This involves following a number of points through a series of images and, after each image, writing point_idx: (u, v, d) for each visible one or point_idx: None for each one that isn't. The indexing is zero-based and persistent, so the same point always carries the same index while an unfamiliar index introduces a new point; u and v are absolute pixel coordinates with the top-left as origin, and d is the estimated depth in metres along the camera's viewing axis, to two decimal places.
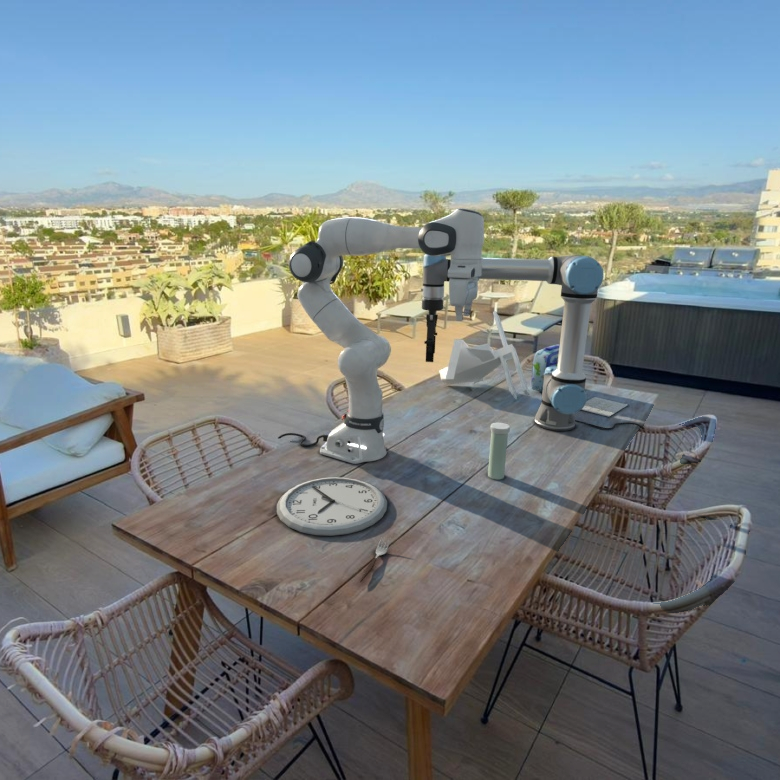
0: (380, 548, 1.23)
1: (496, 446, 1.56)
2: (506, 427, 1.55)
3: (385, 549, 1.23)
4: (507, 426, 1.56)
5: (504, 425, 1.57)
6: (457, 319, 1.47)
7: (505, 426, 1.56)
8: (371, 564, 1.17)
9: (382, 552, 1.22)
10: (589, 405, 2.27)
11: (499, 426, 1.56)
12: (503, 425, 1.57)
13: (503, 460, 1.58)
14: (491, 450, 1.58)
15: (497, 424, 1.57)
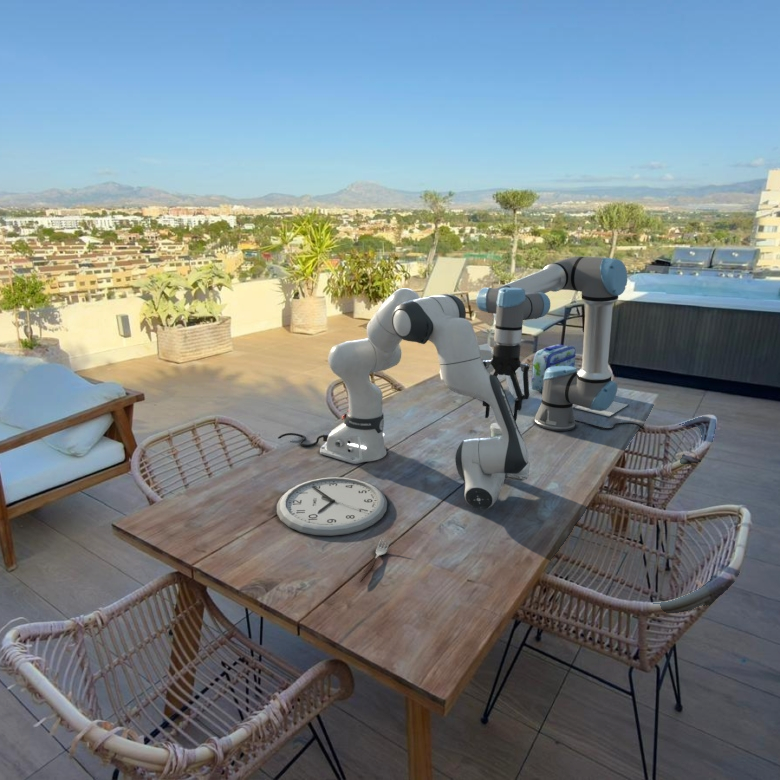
0: (380, 548, 1.23)
1: None
2: None
3: (385, 549, 1.23)
4: None
5: None
6: None
7: None
8: (371, 564, 1.17)
9: (382, 552, 1.22)
10: None
11: None
12: None
13: None
14: None
15: (497, 424, 1.57)
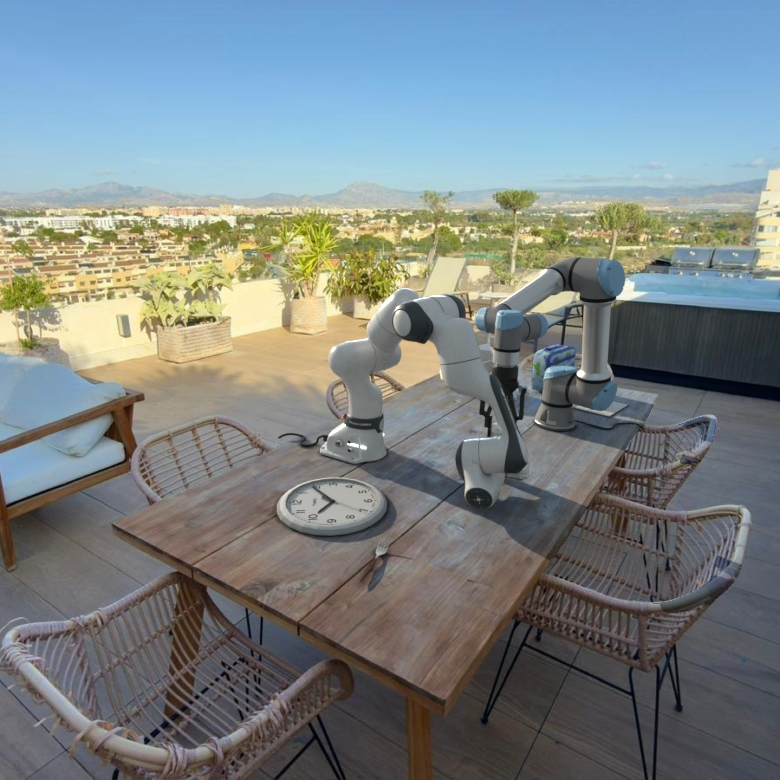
0: (380, 548, 1.23)
1: None
2: None
3: (385, 549, 1.23)
4: None
5: None
6: None
7: None
8: (371, 564, 1.17)
9: (382, 552, 1.22)
10: None
11: None
12: None
13: None
14: None
15: (497, 424, 1.57)
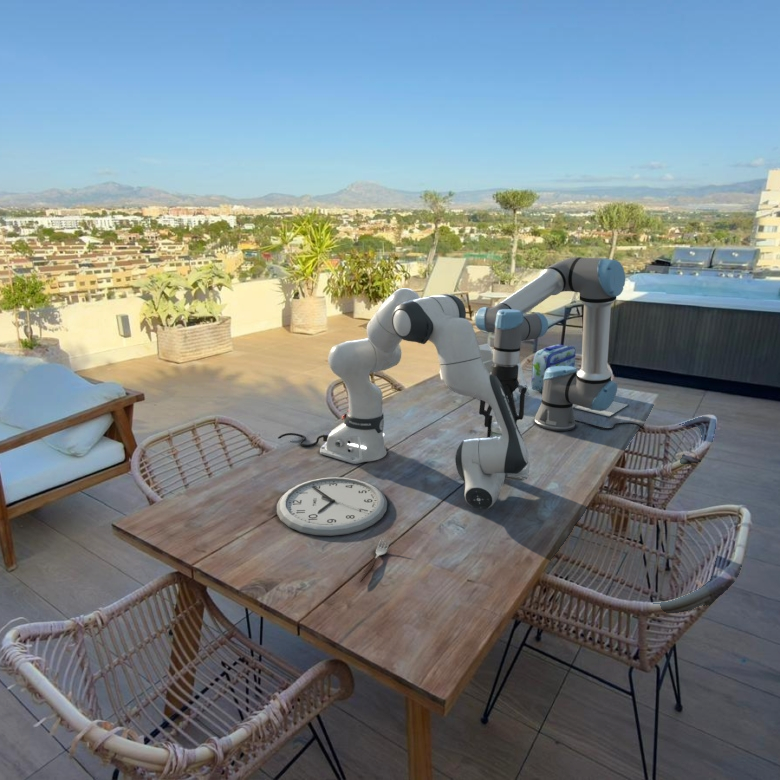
0: (380, 548, 1.23)
1: None
2: None
3: (385, 549, 1.23)
4: (496, 422, 1.58)
5: (496, 423, 1.57)
6: None
7: None
8: (371, 564, 1.17)
9: (382, 552, 1.22)
10: None
11: None
12: (497, 424, 1.57)
13: None
14: None
15: None
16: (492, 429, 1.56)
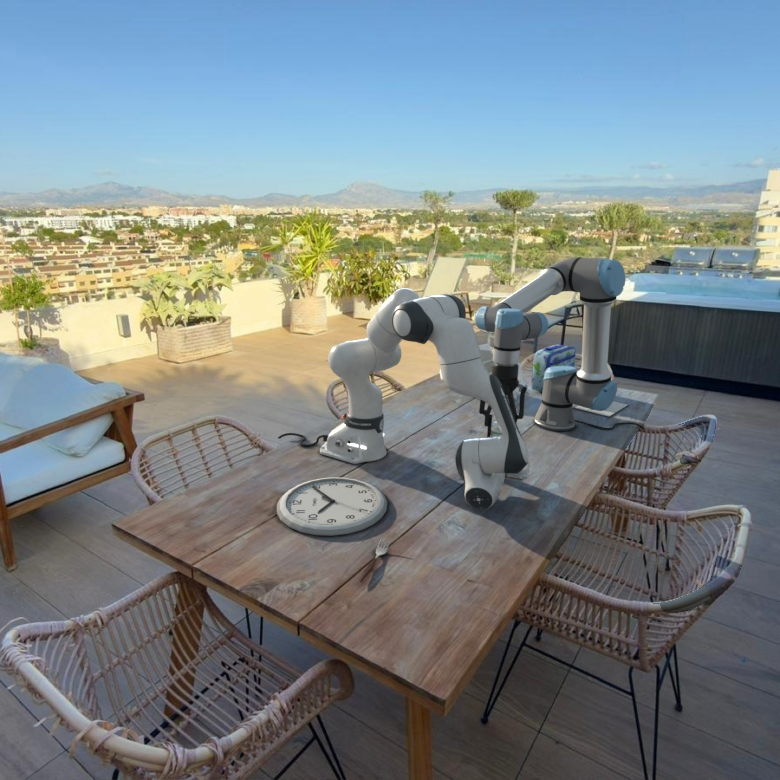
0: (380, 548, 1.23)
1: None
2: (494, 425, 1.56)
3: (385, 549, 1.23)
4: (496, 426, 1.55)
5: None
6: None
7: (497, 425, 1.55)
8: (371, 564, 1.17)
9: (382, 552, 1.22)
10: None
11: None
12: None
13: None
14: None
15: None
16: None
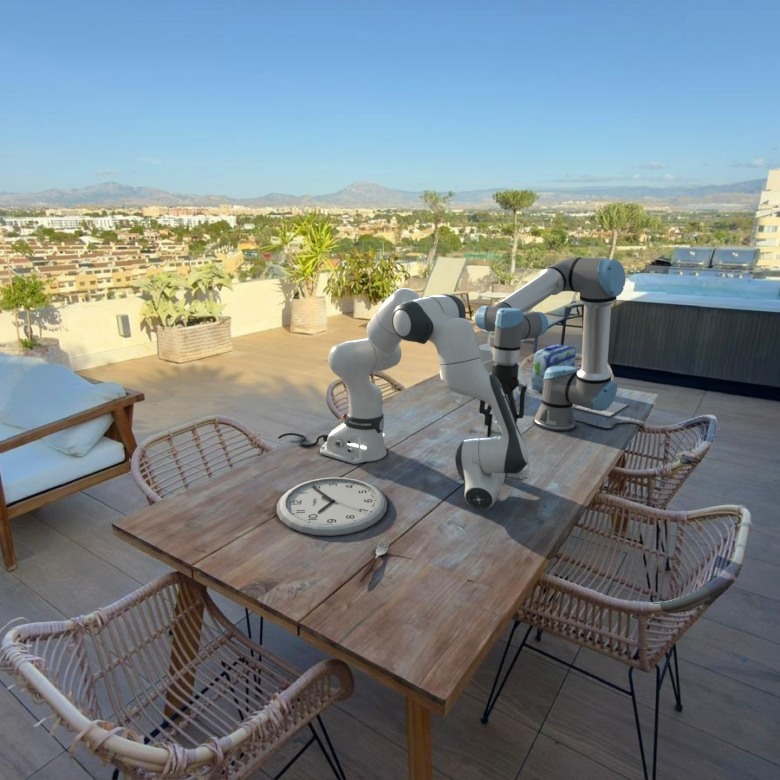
0: (380, 548, 1.23)
1: None
2: None
3: (385, 549, 1.23)
4: None
5: None
6: None
7: None
8: (371, 564, 1.17)
9: (382, 552, 1.22)
10: None
11: None
12: None
13: None
14: None
15: None
16: None
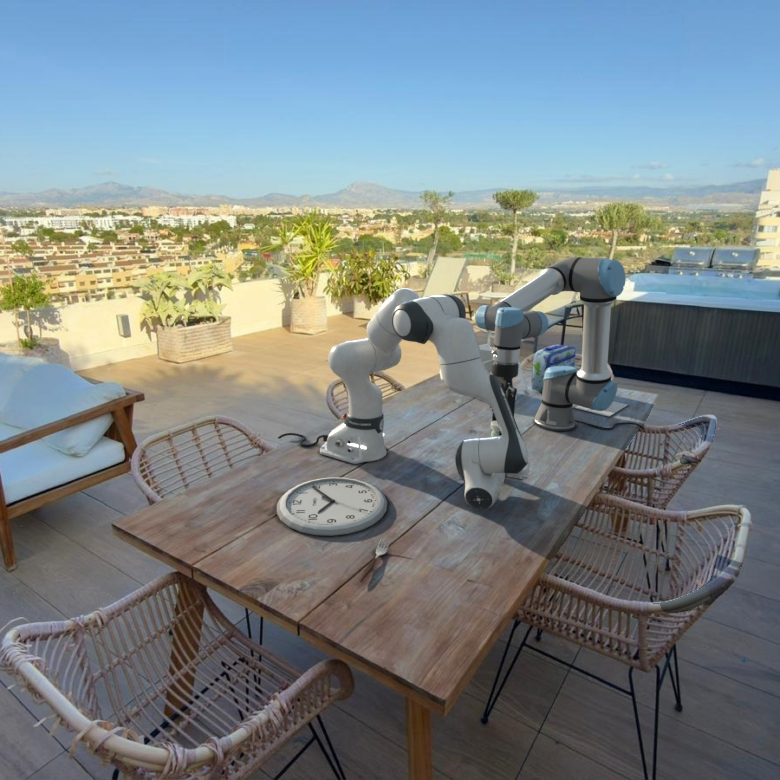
0: (380, 548, 1.23)
1: None
2: None
3: (385, 549, 1.23)
4: (496, 420, 1.58)
5: (496, 422, 1.57)
6: None
7: None
8: (371, 564, 1.17)
9: (382, 552, 1.22)
10: None
11: None
12: None
13: None
14: None
15: None
16: (493, 427, 1.55)
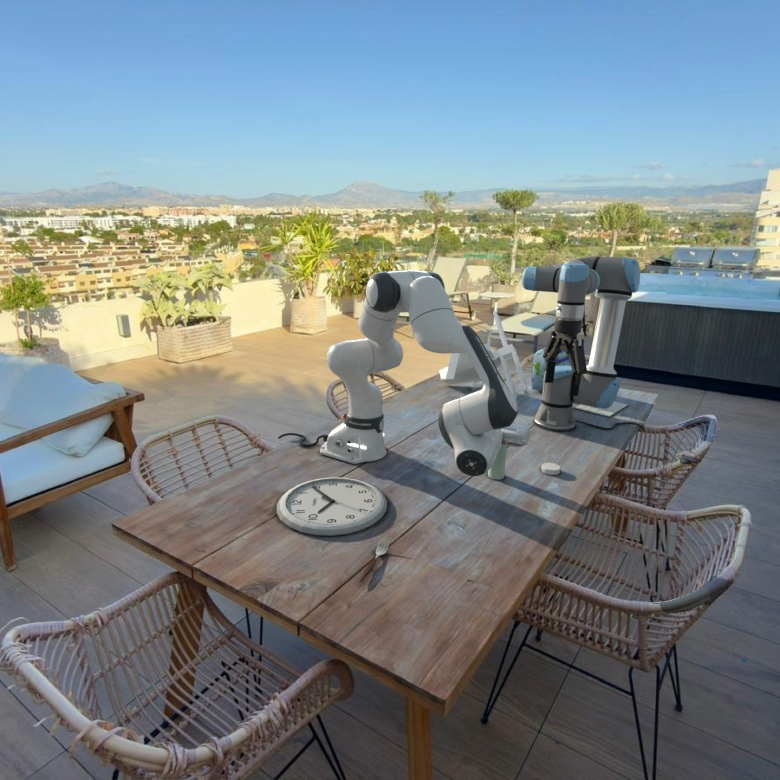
0: (380, 548, 1.23)
1: None
2: (549, 463, 1.67)
3: (385, 549, 1.23)
4: (546, 463, 1.67)
5: (546, 465, 1.66)
6: None
7: (547, 464, 1.66)
8: (371, 564, 1.17)
9: (382, 552, 1.22)
10: None
11: (553, 466, 1.65)
12: (548, 465, 1.66)
13: (503, 460, 1.58)
14: None
15: (550, 467, 1.64)
16: (544, 471, 1.64)
